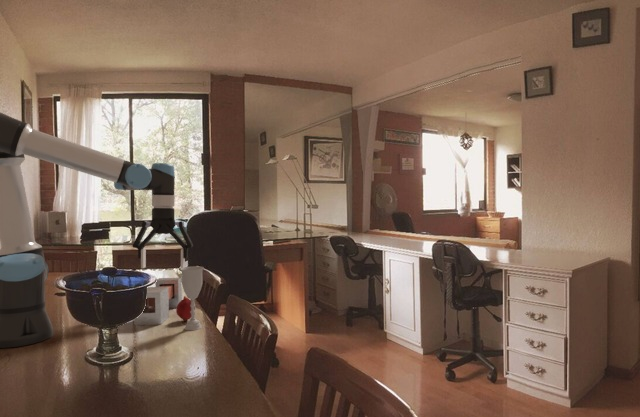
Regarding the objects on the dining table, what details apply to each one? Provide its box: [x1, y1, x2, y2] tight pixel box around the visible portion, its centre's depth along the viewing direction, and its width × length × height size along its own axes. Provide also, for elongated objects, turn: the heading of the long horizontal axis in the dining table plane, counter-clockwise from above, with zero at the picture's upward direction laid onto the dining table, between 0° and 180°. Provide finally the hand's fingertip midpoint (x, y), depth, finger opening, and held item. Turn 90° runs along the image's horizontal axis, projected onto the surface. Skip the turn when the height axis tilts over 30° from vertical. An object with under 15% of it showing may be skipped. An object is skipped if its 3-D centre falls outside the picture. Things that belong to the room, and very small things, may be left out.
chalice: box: [179, 265, 205, 331], centre depth 131 cm, size 7×7×18 cm
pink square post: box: [148, 284, 174, 306], centre depth 151 cm, size 18×4×4 cm, turn 4°
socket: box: [155, 277, 183, 309], centre depth 158 cm, size 4×8×10 cm, turn 94°
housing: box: [133, 286, 170, 326], centre depth 139 cm, size 9×8×10 cm
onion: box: [175, 295, 196, 322], centre depth 138 cm, size 6×6×8 cm
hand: (163, 267), depth 153 cm, fingers open, 13 cm apart
